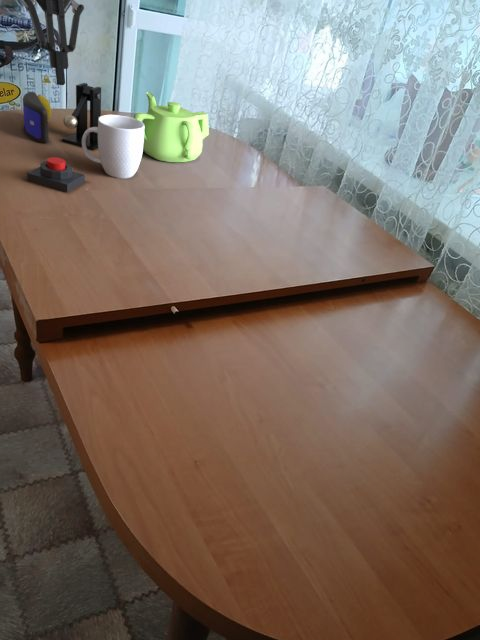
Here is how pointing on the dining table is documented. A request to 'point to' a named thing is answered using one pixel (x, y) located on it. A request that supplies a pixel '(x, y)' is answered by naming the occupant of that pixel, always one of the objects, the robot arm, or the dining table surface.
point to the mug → (117, 144)
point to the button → (56, 163)
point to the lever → (78, 109)
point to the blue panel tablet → (35, 118)
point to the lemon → (45, 105)
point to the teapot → (172, 131)
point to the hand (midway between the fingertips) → (61, 83)
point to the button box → (56, 177)
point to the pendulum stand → (82, 118)
